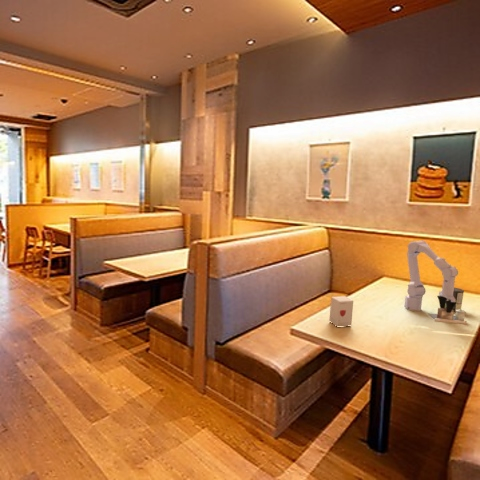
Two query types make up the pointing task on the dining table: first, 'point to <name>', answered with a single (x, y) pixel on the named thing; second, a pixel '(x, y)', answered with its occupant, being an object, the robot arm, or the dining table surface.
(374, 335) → the dining table surface
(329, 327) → the dining table surface
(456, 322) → the shelf board
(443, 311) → the tea box
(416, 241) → the robot arm
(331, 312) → the supplement box
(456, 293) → the coffee can
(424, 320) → the dining table surface
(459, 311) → the celadon jar
